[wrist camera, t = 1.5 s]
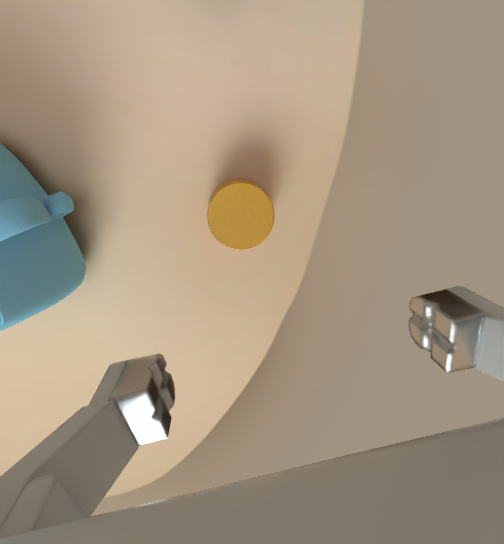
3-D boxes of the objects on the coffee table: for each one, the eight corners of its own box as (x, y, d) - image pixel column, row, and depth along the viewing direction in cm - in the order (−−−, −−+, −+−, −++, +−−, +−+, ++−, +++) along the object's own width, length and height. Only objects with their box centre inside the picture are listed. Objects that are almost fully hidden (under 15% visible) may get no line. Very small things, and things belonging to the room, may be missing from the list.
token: (261, 173, 23) (268, 176, 20) (271, 231, 25) (278, 242, 22) (202, 185, 23) (199, 190, 20) (216, 243, 25) (216, 255, 22)
